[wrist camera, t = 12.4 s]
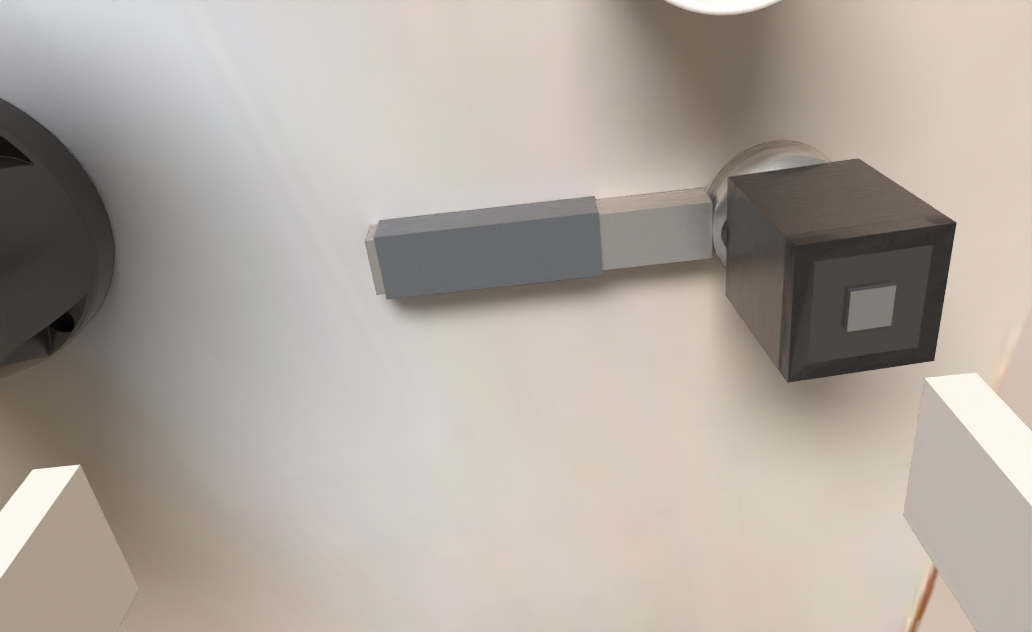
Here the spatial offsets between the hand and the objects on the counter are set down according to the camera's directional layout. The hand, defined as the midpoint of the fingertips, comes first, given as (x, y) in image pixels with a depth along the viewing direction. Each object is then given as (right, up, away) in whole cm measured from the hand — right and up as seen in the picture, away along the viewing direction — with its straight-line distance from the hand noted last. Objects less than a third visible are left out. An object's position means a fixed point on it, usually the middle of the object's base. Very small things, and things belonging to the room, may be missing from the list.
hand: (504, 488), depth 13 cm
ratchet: (+5, +7, +29) cm, 30 cm away
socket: (+13, +7, +26) cm, 30 cm away
